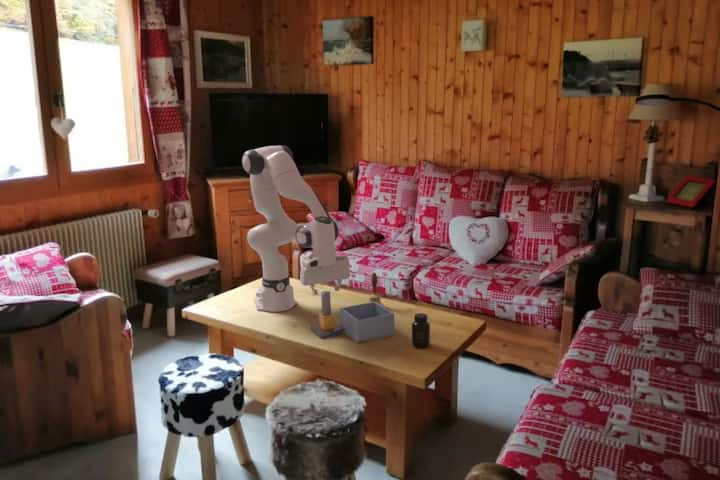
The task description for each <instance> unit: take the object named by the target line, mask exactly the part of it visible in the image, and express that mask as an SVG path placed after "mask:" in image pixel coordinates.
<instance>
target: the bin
mask: <svg viewBox="0 0 720 480" xmlns="http://www.w3.org/2000/svg"><path fill="white" fill-rule="evenodd" d="M339 320H340V325H339V326H340V327H342V328H343V333H345V334H346V335H347V336H349V337H350V339H352V340H353V341H355V342H356V343H357V344H361V343H364V342H369V341H373V340H378V339H382V338H383V339H384V338H387V337H391V336H392V337H393V336H395V313H394V312H392V311H391V310H389V309H388V308H386V307H385V306H384V307H383V306H381V305H380V304H378V303H377V302H375V301H374V302H369V301H368V302H364V303H359V304H354V305H349V306H342V307H340V308H339Z"/></svg>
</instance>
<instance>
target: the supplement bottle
mask: <svg viewBox="0 0 720 480" xmlns="http://www.w3.org/2000/svg"><path fill="white" fill-rule="evenodd" d="M413 318H414V320H413V321H412V324H411V344H412V346H413V347H414V348H416V349H426V348H429V347H430V345H431V324H430V322H429V321H428V320H429V319H428V314H426V313H423V312H421V313H419V312H418V313H416V314H414V317H413Z"/></svg>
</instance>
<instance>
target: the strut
mask: <svg viewBox="0 0 720 480" xmlns="http://www.w3.org/2000/svg"><path fill="white" fill-rule="evenodd" d="M320 295H321V296H320V298H321V299H320V301H321V312H318V319H319V320H318V321H319V323H318V324H320V327H321V328H322V329H323V330H327V329H331V328H334V322H335V318H334V317H335V315H334V313H332V308H331V307H332V306H331V305H332V304H331V302H332V301H331V291H328V290H323V291H321V292H320Z"/></svg>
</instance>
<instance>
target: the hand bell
mask: <svg viewBox="0 0 720 480" xmlns="http://www.w3.org/2000/svg"><path fill="white" fill-rule="evenodd" d="M377 285H378V277H377V272H372V275H371V286H372V294H370V295H369V298H368V303H369V302H374V301H375V302H377V303H378V304H380V305H381V306H383V307H385V305H384V304H383V303H382V301H381V297H380V295H379V294H377Z"/></svg>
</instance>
